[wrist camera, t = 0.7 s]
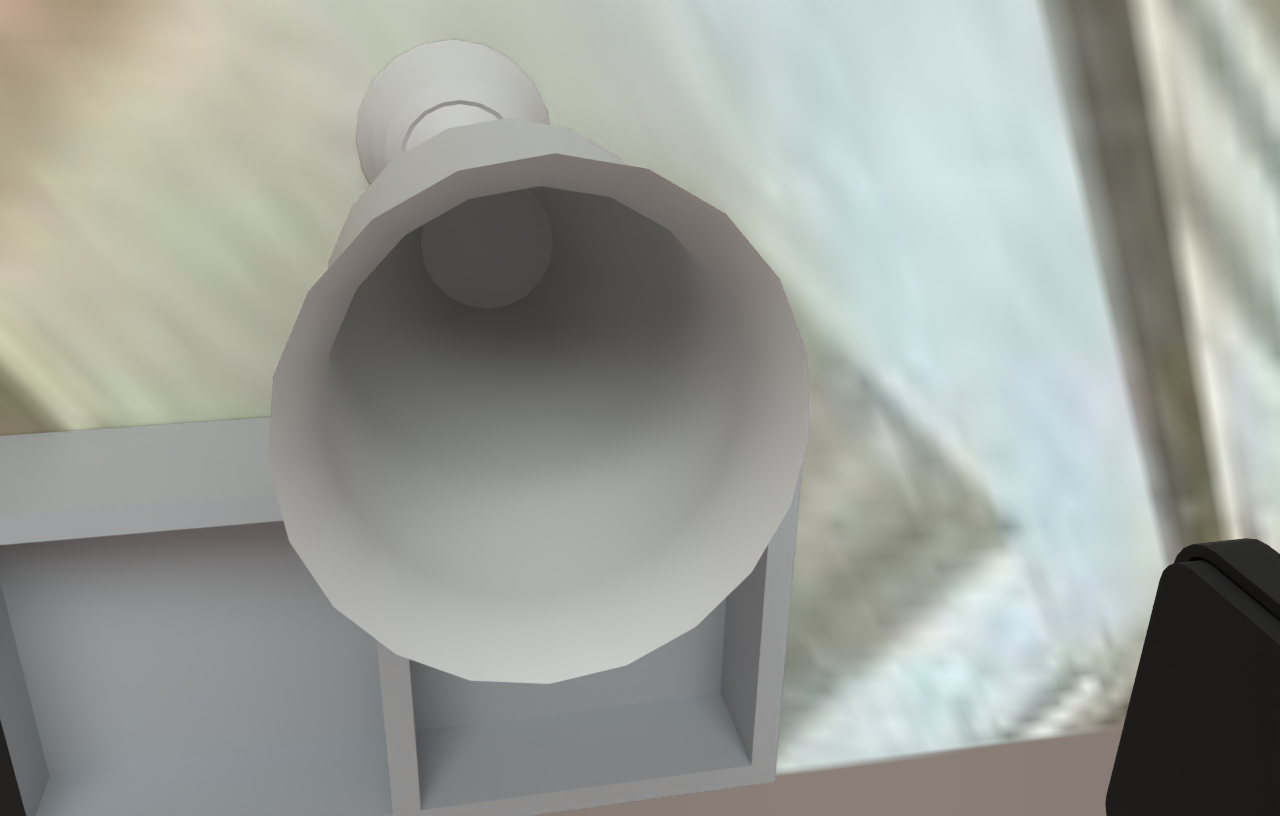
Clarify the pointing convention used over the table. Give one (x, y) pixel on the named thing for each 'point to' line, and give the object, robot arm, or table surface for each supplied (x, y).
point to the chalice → (530, 389)
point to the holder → (314, 661)
